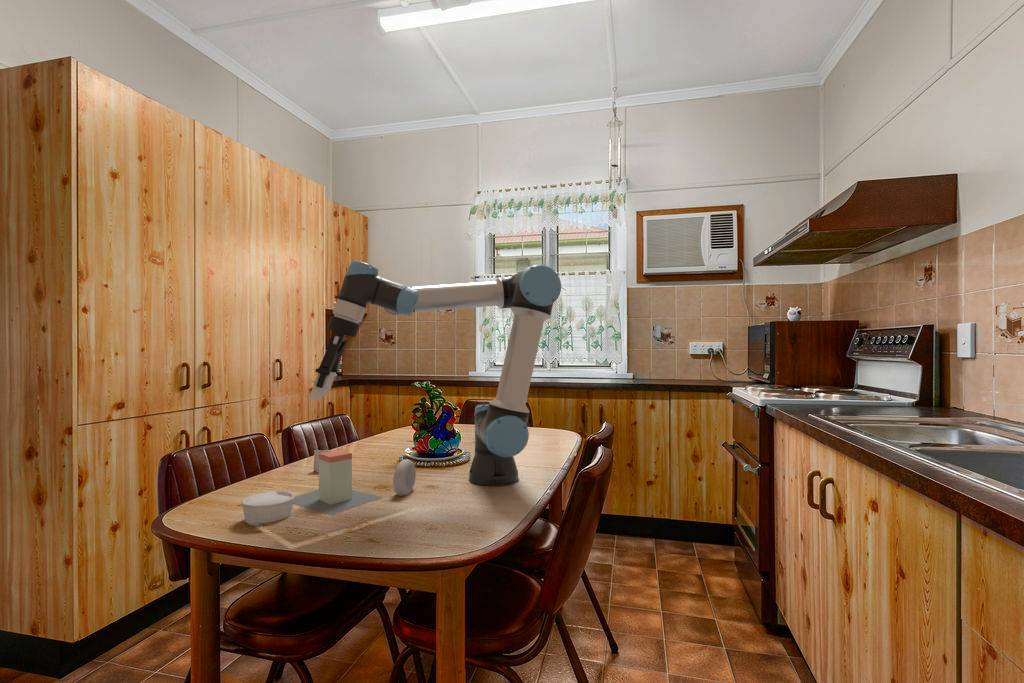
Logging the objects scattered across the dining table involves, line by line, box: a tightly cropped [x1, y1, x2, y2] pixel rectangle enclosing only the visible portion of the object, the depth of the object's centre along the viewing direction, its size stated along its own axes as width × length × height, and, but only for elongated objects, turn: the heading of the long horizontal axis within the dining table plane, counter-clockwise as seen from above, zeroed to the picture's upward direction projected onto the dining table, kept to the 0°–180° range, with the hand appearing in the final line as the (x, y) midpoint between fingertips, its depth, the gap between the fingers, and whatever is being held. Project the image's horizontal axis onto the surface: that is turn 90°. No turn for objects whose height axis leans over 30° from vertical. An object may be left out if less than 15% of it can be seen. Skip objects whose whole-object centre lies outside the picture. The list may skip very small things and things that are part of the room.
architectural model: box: [313, 448, 332, 472], centre depth 162 cm, size 3×7×7 cm, turn 88°
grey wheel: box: [392, 458, 417, 497], centre depth 135 cm, size 10×4×10 cm, turn 168°
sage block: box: [318, 449, 353, 505], centre depth 129 cm, size 6×6×12 cm
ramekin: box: [241, 490, 295, 528], centre depth 117 cm, size 11×11×5 cm
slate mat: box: [293, 489, 383, 516], centre depth 130 cm, size 20×16×1 cm
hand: (318, 397), depth 128 cm, fingers open, 13 cm apart
